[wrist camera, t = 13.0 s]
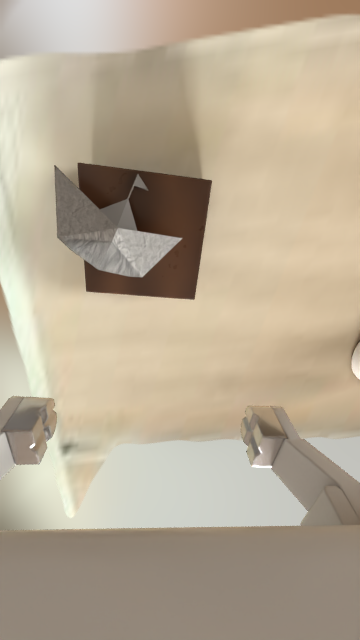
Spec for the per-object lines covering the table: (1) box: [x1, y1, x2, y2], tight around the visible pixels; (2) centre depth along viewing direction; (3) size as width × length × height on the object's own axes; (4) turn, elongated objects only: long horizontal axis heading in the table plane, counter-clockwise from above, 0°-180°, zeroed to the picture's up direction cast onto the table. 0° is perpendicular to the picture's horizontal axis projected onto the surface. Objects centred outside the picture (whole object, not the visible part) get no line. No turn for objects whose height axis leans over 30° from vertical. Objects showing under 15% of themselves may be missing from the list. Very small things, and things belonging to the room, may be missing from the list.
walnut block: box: [78, 163, 212, 300], centre depth 27 cm, size 12×12×5 cm
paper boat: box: [54, 165, 182, 277], centre depth 21 cm, size 12×6×9 cm
